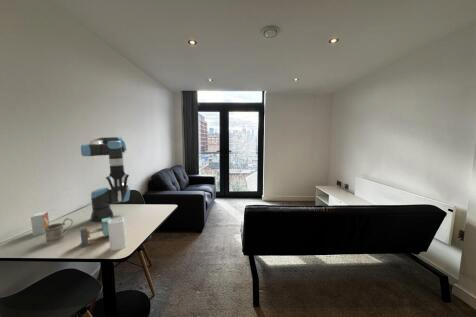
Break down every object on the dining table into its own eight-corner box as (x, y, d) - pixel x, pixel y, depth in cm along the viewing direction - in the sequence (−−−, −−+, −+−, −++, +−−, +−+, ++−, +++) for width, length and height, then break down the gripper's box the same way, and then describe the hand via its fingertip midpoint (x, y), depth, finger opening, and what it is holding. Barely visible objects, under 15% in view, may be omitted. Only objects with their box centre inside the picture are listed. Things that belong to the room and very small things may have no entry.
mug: (48, 246, 120) (45, 227, 119) (42, 242, 125) (40, 223, 124) (77, 236, 132) (75, 218, 131) (71, 232, 138) (69, 215, 136)
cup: (114, 243, 122) (112, 217, 121) (128, 242, 123) (126, 217, 121) (107, 251, 114) (104, 223, 112) (122, 250, 115) (120, 222, 113)
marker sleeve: (102, 232, 130) (101, 219, 129) (111, 230, 133) (110, 217, 132) (104, 236, 125) (102, 222, 124) (113, 233, 128) (112, 220, 127)
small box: (45, 233, 137) (43, 215, 136) (32, 236, 134) (30, 217, 133) (50, 229, 144) (47, 211, 143) (38, 231, 142) (35, 212, 140)
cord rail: (81, 243, 124) (79, 227, 122) (117, 233, 136) (116, 218, 135) (82, 247, 118) (80, 231, 117) (119, 236, 130) (118, 221, 129)
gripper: (105, 166, 122) (108, 204, 125) (129, 164, 131) (132, 200, 133) (103, 165, 128) (107, 201, 131) (126, 163, 137) (129, 197, 139)
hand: (119, 200), depth 132 cm, fingers closed
